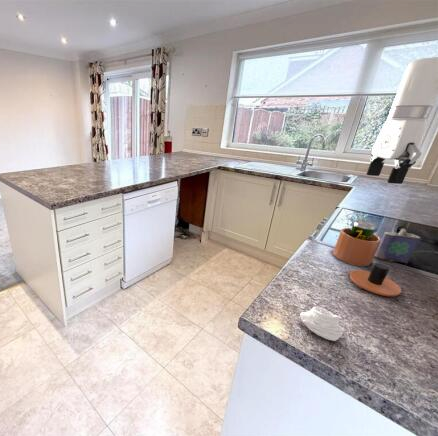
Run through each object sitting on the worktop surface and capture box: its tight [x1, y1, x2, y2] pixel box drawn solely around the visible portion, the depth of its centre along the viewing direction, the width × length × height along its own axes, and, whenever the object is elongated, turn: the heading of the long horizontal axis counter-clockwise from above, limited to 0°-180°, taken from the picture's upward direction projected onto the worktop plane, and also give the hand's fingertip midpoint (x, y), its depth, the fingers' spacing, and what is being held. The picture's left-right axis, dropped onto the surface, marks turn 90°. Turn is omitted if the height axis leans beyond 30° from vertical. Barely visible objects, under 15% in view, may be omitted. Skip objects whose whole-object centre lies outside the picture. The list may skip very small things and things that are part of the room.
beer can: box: [349, 219, 377, 241], centre depth 78 cm, size 5×5×12 cm
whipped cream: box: [299, 306, 346, 342], centre depth 53 cm, size 8×7×5 cm
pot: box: [333, 227, 382, 267], centre depth 79 cm, size 10×10×8 cm
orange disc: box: [349, 262, 402, 297], centre depth 66 cm, size 11×11×6 cm
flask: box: [374, 228, 422, 264], centre depth 78 cm, size 9×3×11 cm, turn 74°
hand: (382, 179), depth 70 cm, fingers open, 9 cm apart
